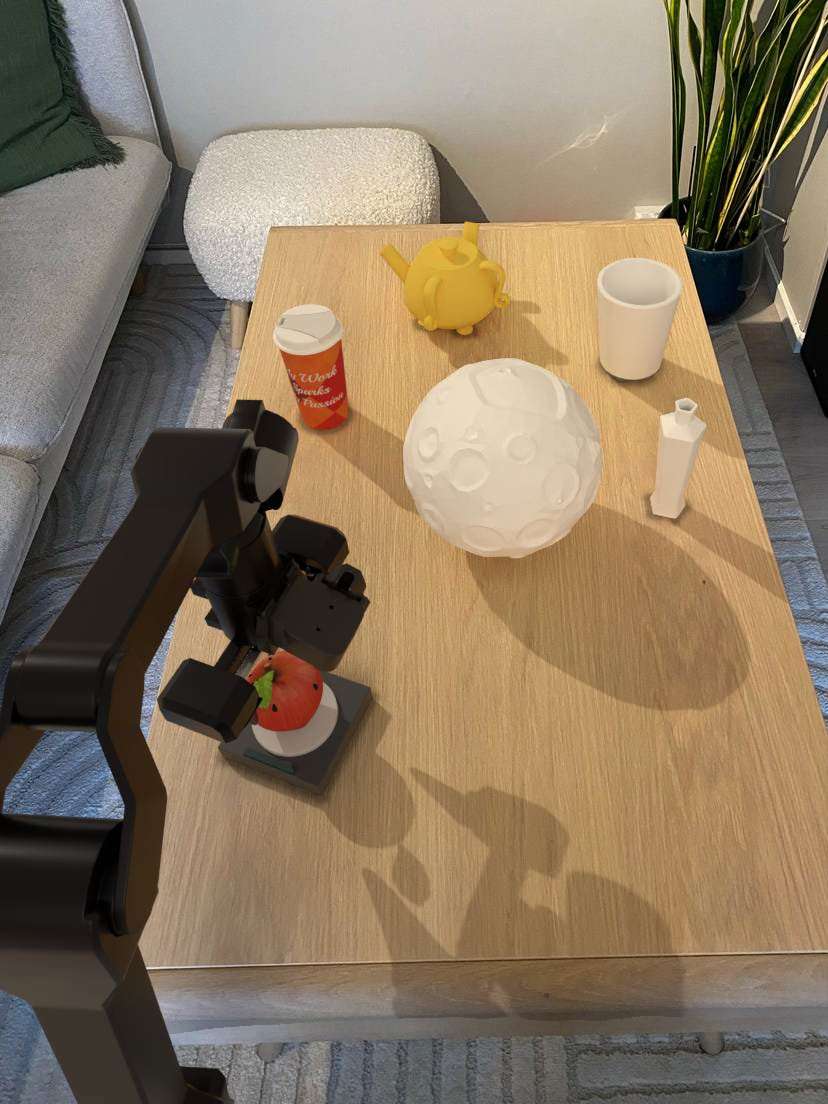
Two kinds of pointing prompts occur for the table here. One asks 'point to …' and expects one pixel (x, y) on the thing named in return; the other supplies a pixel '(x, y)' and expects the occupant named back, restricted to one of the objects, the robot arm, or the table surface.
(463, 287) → the teapot
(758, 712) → the table surface
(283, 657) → the spotted red fruit
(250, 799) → the table surface
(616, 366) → the cup
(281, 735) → the scale
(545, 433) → the decorative sphere
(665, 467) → the white faceted vase
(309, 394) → the paper cup
